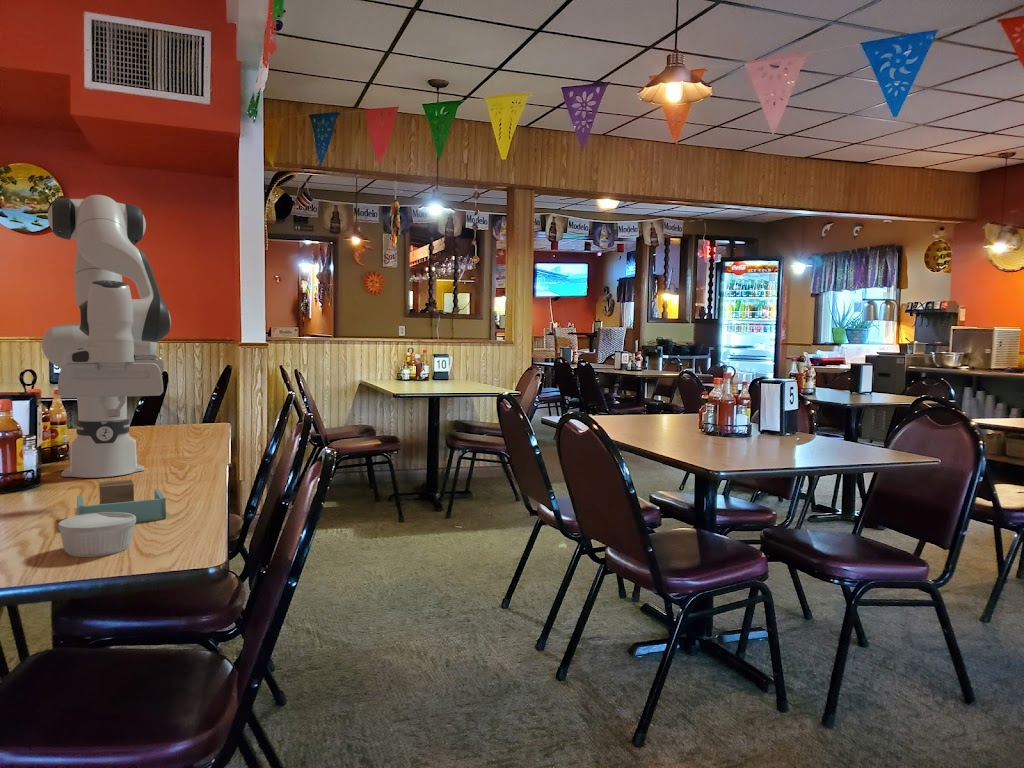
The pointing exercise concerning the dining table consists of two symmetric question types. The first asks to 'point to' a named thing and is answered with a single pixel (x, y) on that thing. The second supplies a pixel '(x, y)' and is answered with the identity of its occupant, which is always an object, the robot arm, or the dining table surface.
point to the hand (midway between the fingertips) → (112, 417)
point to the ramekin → (97, 533)
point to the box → (130, 508)
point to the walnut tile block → (116, 491)
